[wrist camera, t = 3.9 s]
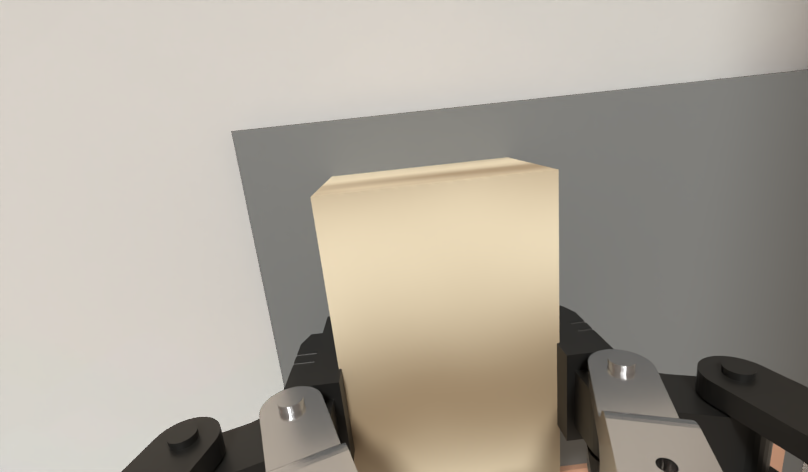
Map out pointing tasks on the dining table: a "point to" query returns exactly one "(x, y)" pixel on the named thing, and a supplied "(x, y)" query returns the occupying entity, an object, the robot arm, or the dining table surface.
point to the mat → (592, 213)
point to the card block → (446, 313)
